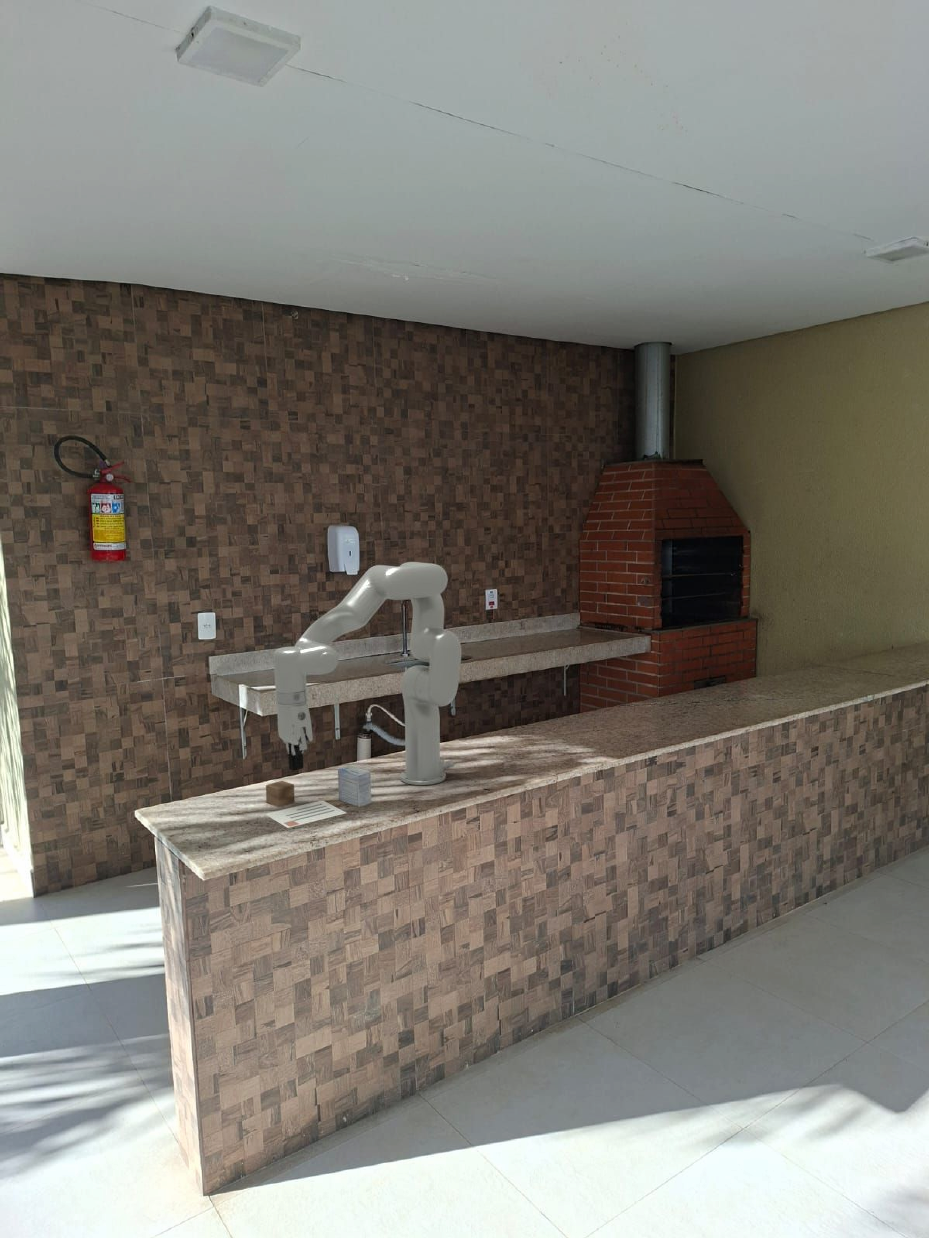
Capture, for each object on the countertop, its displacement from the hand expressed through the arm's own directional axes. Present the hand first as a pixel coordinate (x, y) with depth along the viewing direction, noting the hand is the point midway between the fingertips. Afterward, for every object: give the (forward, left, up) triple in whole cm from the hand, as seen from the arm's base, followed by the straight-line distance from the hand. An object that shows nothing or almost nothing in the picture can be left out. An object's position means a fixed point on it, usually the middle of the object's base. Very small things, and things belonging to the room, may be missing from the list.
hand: (296, 768), depth 218 cm
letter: (+1, +6, -10) cm, 12 cm away
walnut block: (+2, -5, -10) cm, 12 cm away
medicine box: (-13, +6, -10) cm, 18 cm away
